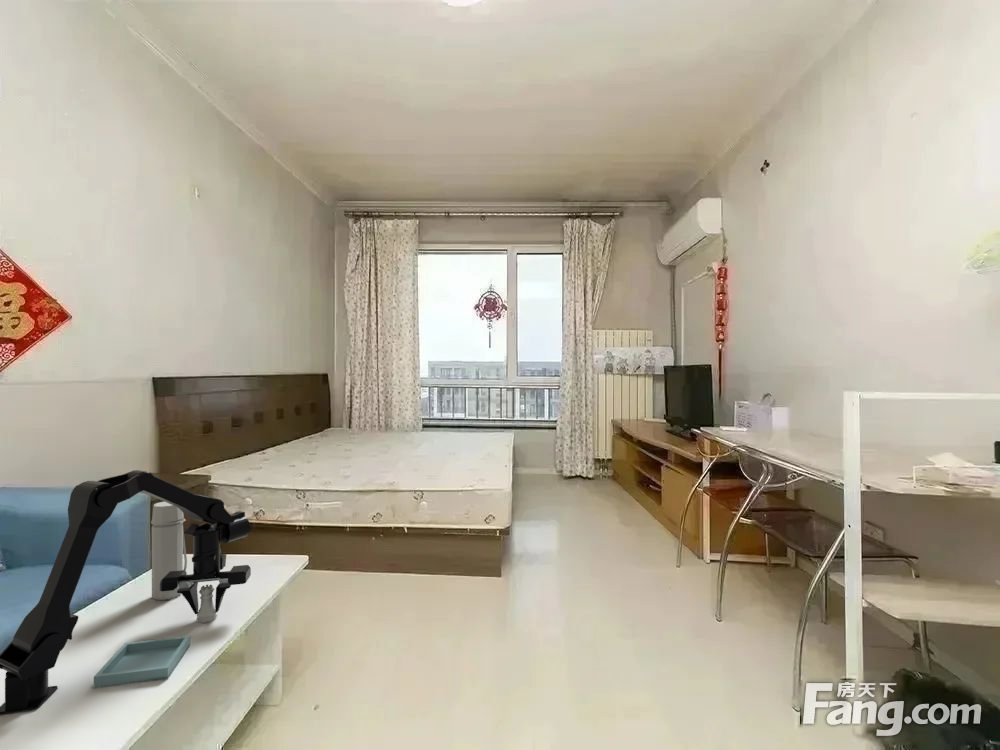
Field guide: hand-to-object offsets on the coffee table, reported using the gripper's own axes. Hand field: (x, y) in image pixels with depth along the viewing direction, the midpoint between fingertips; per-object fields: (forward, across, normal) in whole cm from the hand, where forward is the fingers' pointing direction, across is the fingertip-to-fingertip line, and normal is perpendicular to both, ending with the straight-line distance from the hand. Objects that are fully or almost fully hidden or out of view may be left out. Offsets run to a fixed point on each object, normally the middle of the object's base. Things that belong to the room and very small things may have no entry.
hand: (207, 612), depth 125 cm
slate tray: (+2, +6, +19) cm, 20 cm away
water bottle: (+2, +14, -18) cm, 23 cm away
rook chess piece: (+2, 0, 0) cm, 2 cm away
